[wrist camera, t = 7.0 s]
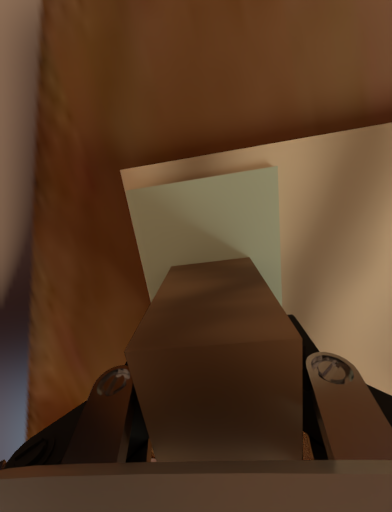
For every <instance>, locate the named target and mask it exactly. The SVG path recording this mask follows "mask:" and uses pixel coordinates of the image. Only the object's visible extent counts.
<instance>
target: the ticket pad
mask: <svg viewBox="0 0 392 512" xmlns="http://www.w3.org/2000/svg"><path fill="white" fill-rule="evenodd" d="M274 166H278V192H279V223H280V253H281V284H282V308H283V309H284V311H285V312H286V314H287V315H290V314H292V315H294V316H295V317H296V319H297V320H298V322H299V323H300V324H301V326H302V327H303V329H304V330H305V332H306V333H307V334H308V336H309V337H310V339H311V340H312V341H313V343H314V344H315V346H316V347H317V349H318V350H319V351H320V352H328V353H333V354H336V355H339V356H341V357H343V358H345V359H347V360H348V361H349V362H350V363H352V364H353V365H354V366H355V367H356V369H357V370H358V371H359V373H360V375H361V376H362V378H363V380H364V381H365V383H366V384H368V385H370V386H372V387H374V388H376V389H378V390H381V391H383V392H385V393H387V394H389V395H391V396H392V123H386V124H380V125H375V126H369V127H363V128H358V129H352V130H346V131H340V132H335V133H329V134H323V135H318V136H312V137H306V138H300V139H295V140H289V141H283V142H278V143H272V144H266V145H260V146H255V147H249V148H243V149H238V150H232V151H226V152H220V153H215V154H209V155H203V156H198V157H192V158H186V159H180V160H175V161H169V162H163V163H158V164H152V165H146V166H140V167H135V168H129V169H123V170H120V173H121V177H122V181H123V185H124V190H125V191H127V190H133V189H139V188H145V187H151V186H157V185H163V184H170V183H176V182H182V181H188V180H194V179H200V178H206V177H213V176H219V175H225V174H231V173H237V172H243V171H249V170H255V169H262V168H268V167H274ZM125 194H126V192H125ZM126 198H127V196H126ZM127 203H128V201H127ZM128 207H129V205H128ZM129 211H130V209H129ZM130 215H131V214H130ZM131 220H132V218H131ZM132 224H133V222H132ZM133 228H134V226H133ZM134 233H135V231H134ZM135 237H136V235H135ZM136 241H137V239H136ZM137 246H138V244H137ZM138 250H139V248H138ZM139 254H140V252H139ZM140 258H141V257H140ZM141 263H142V261H141ZM142 267H143V265H142ZM143 271H144V270H143ZM144 276H145V274H144ZM145 280H146V278H145ZM146 284H147V282H146ZM147 289H148V287H147ZM148 293H149V291H148ZM149 297H150V295H149ZM150 301H151V300H150Z"/></svg>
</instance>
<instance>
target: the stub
mask: <svg viewBox="0 0 392 512" xmlns="http://www.w3.org/2000/svg"><path fill="white" fill-rule="evenodd" d="M125 192H126V196H127V201H128V205H129V209H130V214H131V218H132V222H133V226H134V231H135V235H136V239H137V244H138V248H139V252H140V257H141V261H142V265H143V270H144V274H145V278H146V282H147V287H148V291H149V295H150V300H151V304H150V306H149V308H148V309H147V311H146V313H145V315H144V317H143V318H142V320H141V322H140V324H139V326H138V328H137V329H136V331H135V333H134V335H133V337H132V338H131V340H130V342H129V344H128V346H127V347H126V349H125V351H124V353H125V357H126V360H127V363H128V367H129V370H130V374H131V377H132V380H133V384H134V387H135V390H136V394H137V397H138V401H139V404H140V407H141V411H142V414H143V418H144V421H145V424H146V428H147V431H148V434H149V438H150V441H151V445H152V448H153V451H154V455H155V458H156V462H191V461H266V460H303V395H302V337H301V336H300V334H299V332H298V331H297V329H296V328H295V326H294V325H293V323H292V322H291V320H290V319H289V317H288V316H287V314H286V312H285V311H284V309H283V308H282V284H281V253H280V223H279V192H278V166H274V167H268V168H262V169H255V170H249V171H243V172H237V173H231V174H225V175H219V176H213V177H206V178H200V179H194V180H188V181H182V182H176V183H170V184H163V185H157V186H151V187H145V188H139V189H133V190H127V191H125Z"/></svg>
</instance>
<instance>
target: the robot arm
mask: <svg viewBox="0 0 392 512" xmlns="http://www.w3.org/2000/svg"><path fill="white" fill-rule="evenodd" d="M287 316H288V317H289V319H290V320H291V322H292V323H293V325H294V326H295V328H296V329H297V331H298V332H299V334H300V336H301V337H302V395H303V431H304V432H305V433H306V439H307V443H308V448H309V452H310V457H311V460H266V461H191V462H151V453H152V445H151V441H150V438H149V434H148V431H147V428H146V424H145V421H144V418H143V414H142V411H141V407H140V404H139V401H138V397H137V394H136V390H135V387H134V384H133V380H132V377H131V374H130V370H129V367H128V363H127V362H126V364H125V365H120V366H116V367H113V368H111V369H109V370H107V371H106V372H104V373H103V374H102V375H101V376H100V377H99V378H98V379H97V380H96V382H95V384H94V385H93V387H92V390H91V392H90V395H89V397H88V399H87V401H85V402H84V403H82V404H81V405H79V406H78V407H76V408H75V409H73V410H72V411H70V412H69V413H67V414H66V415H64V416H63V417H61V418H60V419H58V420H57V421H55V422H54V423H52V424H51V425H50V426H48V427H47V428H45V429H44V430H42V431H41V432H39V433H38V434H36V435H35V436H33V437H32V438H30V439H29V440H28V441H26V442H25V443H24V444H23V445H22V446H21V447H20V448H19V449H18V450H17V451H16V452H15V453H14V454H13V455H12V457H11V458H10V459H9V460H8V462H7V463H6V461H5V460H3V461H0V512H392V396H391V395H389V394H387V393H385V392H383V391H381V390H378V389H376V388H374V387H372V386H370V385H368V384H366V383H365V381H364V380H363V378H362V376H361V375H360V373H359V371H358V370H357V369H356V367H355V366H354V365H353V364H352V363H350V362H349V361H348V360H347V359H345V358H343V357H341V356H339V355H336V354H333V353H328V352H320V351H319V350H318V349H317V347H316V346H315V344H314V343H313V341H312V340H311V339H310V337H309V336H308V334H307V333H306V332H305V330H304V329H303V327H302V326H301V324H300V323H299V322H298V320H297V319H296V317H295V316H294V315H292V314H290V315H287Z"/></svg>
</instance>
